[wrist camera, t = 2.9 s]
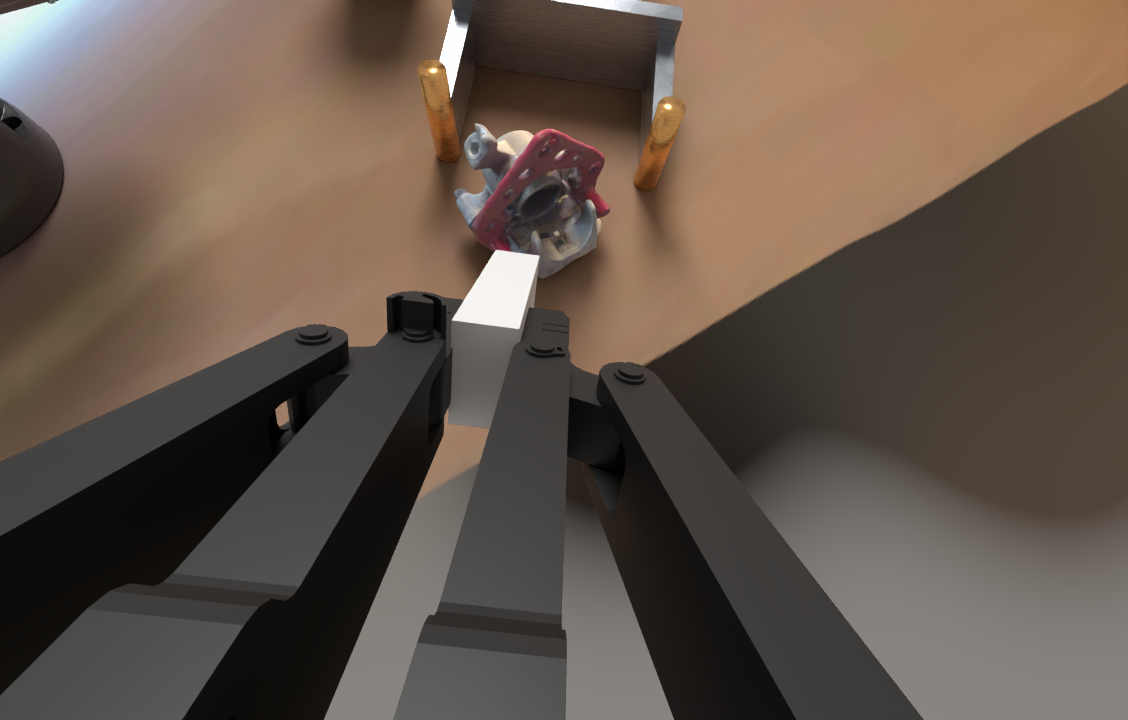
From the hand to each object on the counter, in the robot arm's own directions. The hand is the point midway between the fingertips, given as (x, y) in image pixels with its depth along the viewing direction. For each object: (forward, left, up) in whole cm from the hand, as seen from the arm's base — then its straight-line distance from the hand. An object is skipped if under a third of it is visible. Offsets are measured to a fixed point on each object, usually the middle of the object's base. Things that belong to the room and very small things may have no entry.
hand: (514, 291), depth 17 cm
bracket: (0, +26, -19) cm, 32 cm away
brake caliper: (-1, +15, -19) cm, 25 cm away
